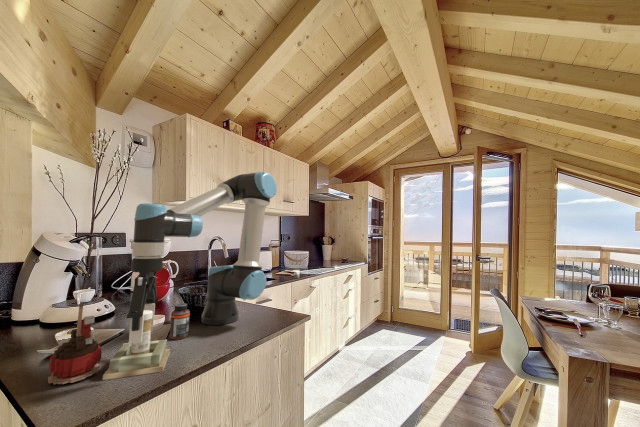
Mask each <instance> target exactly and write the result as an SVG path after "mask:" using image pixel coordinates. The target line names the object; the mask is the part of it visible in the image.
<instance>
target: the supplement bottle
mask: <svg viewBox="0 0 640 427" xmlns="http://www.w3.org/2000/svg"><path fill="white" fill-rule="evenodd" d="M190 315H191V311H190V310H189V309H188V303H184V302H180V303H177V304H174V309H173V311H171V314H170V328H169V329H170V330H169V331H170V332H169V338H170V339H171V340H173V341H174V340H176V341H177V340H178V341H179V340H183V339H185V338H187V337H188V336H189V333H190V318H191V317H190Z"/></svg>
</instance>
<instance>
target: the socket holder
mask: <svg viewBox="0 0 640 427" xmlns="http://www.w3.org/2000/svg"><path fill="white" fill-rule="evenodd" d="M167 343H168V339H160V340H150V350H149V353H146V354H138V355H131V344H129V343H124V344H123V345H122V346H121V347H120V348H119V350H118V351H116V353H115V354H114V355H113V357H112V358H111V359H110V360H109V366H108V369H107V370H105V372H104V373H103V374H102V381H107V380H113V379H114V380H115V379H121V378H127V377H128V378H129V377H133V376H134V377H135V376H140V375H147V374H153V373H161V372H163V371H164V369H165V366H166V364H167V361H168V358H169V356H170V354H171V348H167V346H168V344H167Z"/></svg>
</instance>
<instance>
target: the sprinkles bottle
mask: <svg viewBox="0 0 640 427" xmlns="http://www.w3.org/2000/svg"><path fill="white" fill-rule="evenodd" d="M143 316H144V321H143V334H142V342H141V343H133V344H131V355H138V354H146V353H149V350H150V341H152V340H151V338H152V337H151V336H152V334H151V333H152V326H151V320H152V317H153V312H152V311H151V310H144V311H143Z"/></svg>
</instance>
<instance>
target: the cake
mask: <svg viewBox="0 0 640 427" xmlns="http://www.w3.org/2000/svg"><path fill="white" fill-rule="evenodd" d="M83 310H84V303H79V305H78V316H77V325H76V328H74V329H71V331H70V338H69V339H68V341H66V342H62V344H61V345H60V346H58V347H57V349H55V350H54V353H53V355H52V356H49V362H48V363H49V364H48V369H49V372H50V373H51V372H52V373H51V374H50V375H49V376H47V381H48V384H53V385H64V384H67V383H70V384H71V383H75V382H76V383H77V382H78V381H82V380H85V379H86V378H89V377H91V376H93V375H94V374H96V373H98V370H100V364H98V362H101V360H102V353H103V352H102V347H101V346H100V343H99V342H98V341H97V340H95V339H94V338H93V336H92V334H91V333H92V332H91V330H92V329H91V326H92V324H94V323H95V315H90V316H85V317H84V318H83Z"/></svg>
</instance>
